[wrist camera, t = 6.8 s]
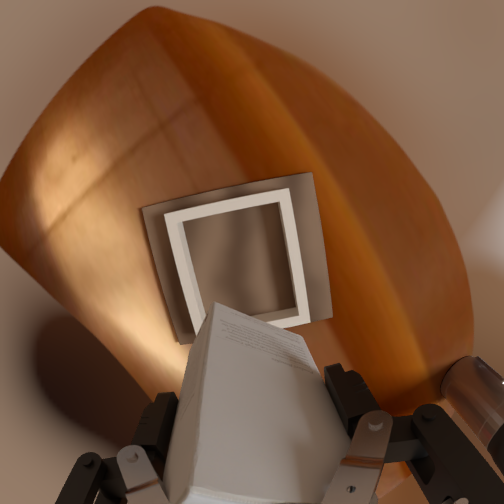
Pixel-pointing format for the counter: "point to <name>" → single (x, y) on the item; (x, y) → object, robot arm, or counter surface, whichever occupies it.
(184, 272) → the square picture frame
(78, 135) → the counter surface
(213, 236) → the board
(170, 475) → the skincare box
